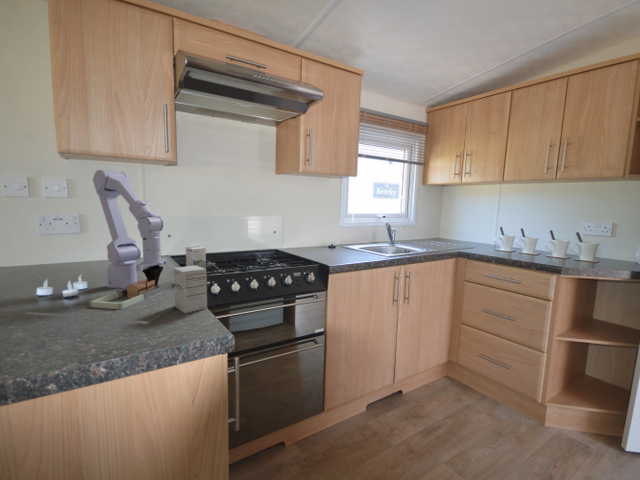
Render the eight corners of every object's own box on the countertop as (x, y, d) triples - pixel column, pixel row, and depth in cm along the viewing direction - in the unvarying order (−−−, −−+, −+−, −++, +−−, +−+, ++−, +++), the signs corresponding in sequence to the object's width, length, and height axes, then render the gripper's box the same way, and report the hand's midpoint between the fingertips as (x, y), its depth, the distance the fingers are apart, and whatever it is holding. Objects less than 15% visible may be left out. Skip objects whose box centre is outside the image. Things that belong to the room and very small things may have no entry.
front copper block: (127, 296, 107) (126, 285, 107) (136, 293, 111) (135, 282, 111) (138, 297, 107) (137, 285, 106) (146, 294, 111) (145, 283, 110)
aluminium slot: (114, 298, 107) (114, 290, 107) (144, 287, 121) (143, 280, 120) (146, 300, 105) (146, 292, 105) (173, 289, 119) (172, 282, 119)
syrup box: (198, 279, 135) (197, 245, 133) (206, 282, 131) (205, 247, 129) (186, 282, 130) (184, 247, 129) (193, 284, 127) (192, 248, 125)
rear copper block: (137, 293, 112) (136, 282, 111) (145, 290, 116) (144, 279, 115) (147, 293, 111) (146, 282, 111) (155, 290, 115) (154, 279, 115)
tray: (89, 308, 97) (89, 301, 97) (117, 298, 107) (116, 292, 107) (120, 311, 95) (120, 303, 95) (145, 300, 106) (145, 293, 105)
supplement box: (174, 307, 99) (172, 267, 97) (197, 302, 104) (196, 264, 103) (183, 314, 94) (182, 271, 92) (208, 308, 99) (206, 268, 97)
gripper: (147, 253, 108) (149, 292, 109) (174, 247, 122) (175, 282, 123) (129, 252, 109) (131, 291, 110) (157, 246, 123) (159, 281, 125)
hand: (153, 286), depth 117 cm, fingers closed
